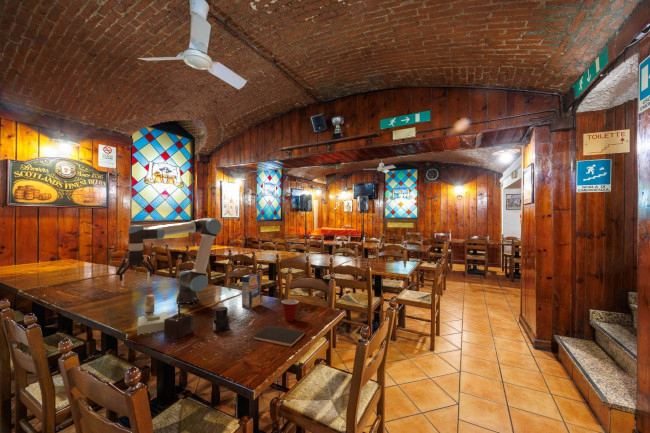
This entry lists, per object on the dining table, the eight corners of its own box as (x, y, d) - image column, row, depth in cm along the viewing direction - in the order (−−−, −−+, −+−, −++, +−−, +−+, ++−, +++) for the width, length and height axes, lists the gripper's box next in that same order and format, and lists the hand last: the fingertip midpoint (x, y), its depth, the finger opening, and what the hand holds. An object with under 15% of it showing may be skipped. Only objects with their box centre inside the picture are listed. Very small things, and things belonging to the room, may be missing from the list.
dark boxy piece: (179, 339, 144) (179, 305, 144) (163, 336, 147) (163, 303, 147) (201, 328, 159) (201, 297, 159) (186, 325, 162) (186, 295, 162)
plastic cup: (301, 318, 175) (302, 299, 175) (292, 324, 165) (292, 304, 165) (288, 315, 180) (288, 297, 180) (277, 321, 170) (277, 301, 170)
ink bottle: (217, 325, 162) (217, 305, 162) (232, 326, 162) (232, 306, 162) (209, 332, 153) (210, 311, 153) (225, 333, 152) (225, 311, 152)
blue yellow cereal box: (241, 307, 195) (242, 276, 195) (252, 303, 205) (252, 273, 205) (249, 308, 192) (249, 277, 192) (259, 304, 202) (259, 274, 202)
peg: (154, 317, 174) (154, 294, 174) (154, 320, 170) (154, 296, 170) (145, 319, 172) (145, 295, 172) (144, 322, 167) (145, 297, 167)
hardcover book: (291, 348, 137) (291, 343, 137) (252, 340, 145) (252, 335, 145) (305, 335, 152) (305, 331, 152) (269, 328, 160) (269, 324, 160)
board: (167, 320, 170) (167, 312, 170) (169, 329, 156) (169, 320, 156) (138, 325, 162) (138, 317, 162) (137, 335, 148) (137, 326, 148)
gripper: (156, 247, 183) (156, 279, 183) (109, 251, 164) (109, 286, 164) (160, 248, 178) (160, 281, 178) (112, 252, 159) (112, 288, 159)
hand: (136, 283), depth 171 cm, fingers open, 13 cm apart
